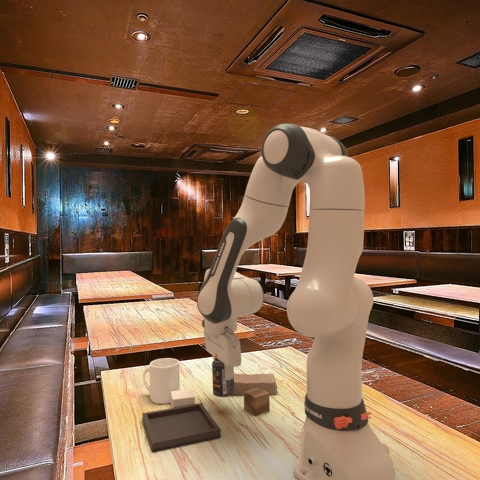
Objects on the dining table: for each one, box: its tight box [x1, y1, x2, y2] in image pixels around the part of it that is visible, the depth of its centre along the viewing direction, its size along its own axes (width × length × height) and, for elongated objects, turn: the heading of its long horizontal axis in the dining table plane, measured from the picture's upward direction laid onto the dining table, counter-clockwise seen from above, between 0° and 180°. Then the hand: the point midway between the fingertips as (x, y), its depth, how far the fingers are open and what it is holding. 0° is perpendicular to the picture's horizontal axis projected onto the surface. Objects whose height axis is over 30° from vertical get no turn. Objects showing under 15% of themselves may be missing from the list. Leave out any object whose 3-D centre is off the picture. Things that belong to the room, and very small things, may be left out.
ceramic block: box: [170, 388, 196, 408], centre depth 108 cm, size 6×6×4 cm
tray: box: [141, 402, 222, 453], centre depth 96 cm, size 16×16×2 cm
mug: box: [142, 357, 181, 405], centre depth 115 cm, size 9×12×11 cm
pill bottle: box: [211, 353, 235, 398], centre depth 106 cm, size 6×6×11 cm
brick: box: [230, 372, 278, 397], centre depth 120 cm, size 17×8×5 cm, turn 92°
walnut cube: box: [243, 388, 271, 417], centre depth 106 cm, size 5×5×5 cm
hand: (223, 374), depth 106 cm, fingers closed on pill bottle, 6 cm apart
